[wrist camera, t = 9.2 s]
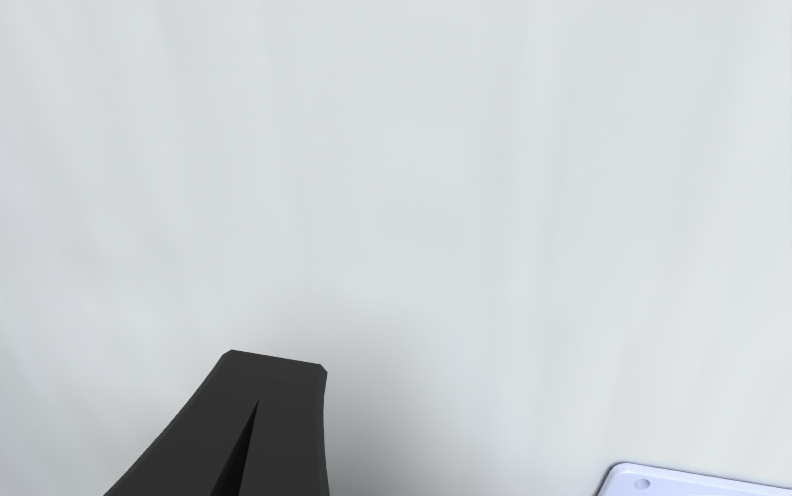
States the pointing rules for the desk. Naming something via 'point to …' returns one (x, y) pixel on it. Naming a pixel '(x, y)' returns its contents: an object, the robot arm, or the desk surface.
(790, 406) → the desk surface
